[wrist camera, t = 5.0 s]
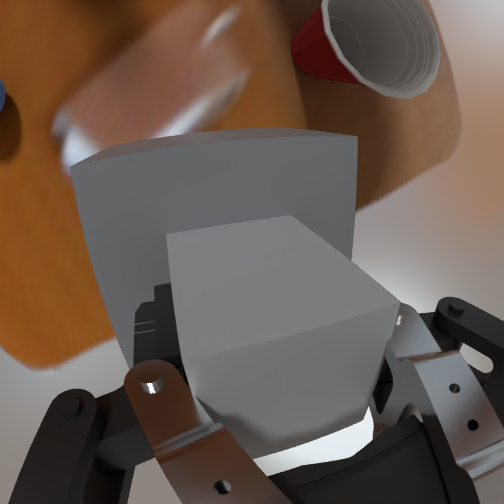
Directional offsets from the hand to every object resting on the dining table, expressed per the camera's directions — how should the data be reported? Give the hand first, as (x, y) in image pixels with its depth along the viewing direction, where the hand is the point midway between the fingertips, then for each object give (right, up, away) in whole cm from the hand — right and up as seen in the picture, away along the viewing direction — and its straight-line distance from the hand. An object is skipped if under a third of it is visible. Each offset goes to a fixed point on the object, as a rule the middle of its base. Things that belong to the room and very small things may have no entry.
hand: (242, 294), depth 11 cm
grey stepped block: (-3, +4, +9) cm, 10 cm away
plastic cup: (+6, +22, +15) cm, 27 cm away
